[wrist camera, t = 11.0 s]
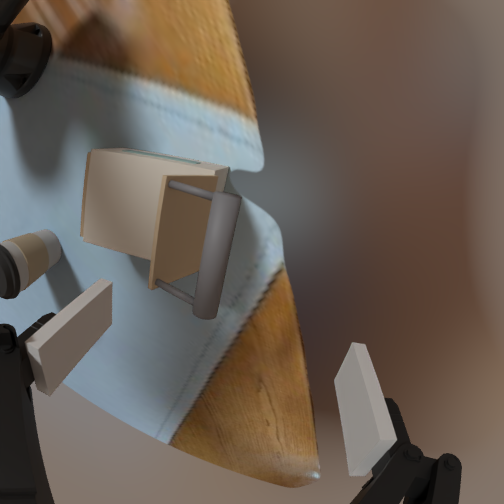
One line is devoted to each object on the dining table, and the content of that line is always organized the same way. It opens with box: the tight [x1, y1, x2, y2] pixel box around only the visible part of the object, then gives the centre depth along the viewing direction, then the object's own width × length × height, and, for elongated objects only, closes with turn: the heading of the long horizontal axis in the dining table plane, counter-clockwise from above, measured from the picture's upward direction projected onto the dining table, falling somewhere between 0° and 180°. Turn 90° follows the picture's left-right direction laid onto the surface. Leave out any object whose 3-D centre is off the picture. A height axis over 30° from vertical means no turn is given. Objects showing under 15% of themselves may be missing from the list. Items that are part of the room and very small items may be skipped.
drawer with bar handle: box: [148, 175, 242, 320], centre depth 29 cm, size 11×8×8 cm
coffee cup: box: [0, 229, 61, 299], centre depth 41 cm, size 9×9×15 cm
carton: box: [80, 148, 229, 260], centre depth 39 cm, size 12×17×9 cm
